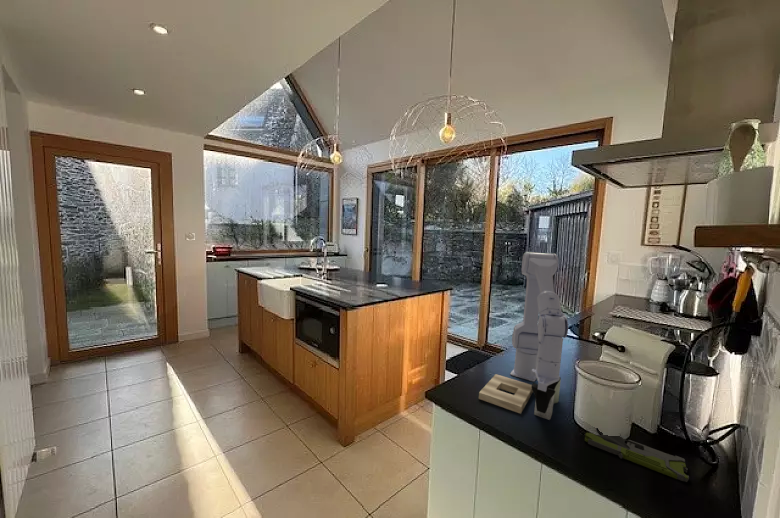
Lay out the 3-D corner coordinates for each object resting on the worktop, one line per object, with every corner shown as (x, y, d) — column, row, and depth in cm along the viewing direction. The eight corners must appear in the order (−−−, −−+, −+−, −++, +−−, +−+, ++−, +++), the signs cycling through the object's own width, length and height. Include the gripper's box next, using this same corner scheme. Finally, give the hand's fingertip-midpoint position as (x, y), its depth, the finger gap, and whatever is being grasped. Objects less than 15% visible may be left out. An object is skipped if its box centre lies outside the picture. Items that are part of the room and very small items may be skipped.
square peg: (536, 408, 94) (539, 385, 93) (552, 413, 91) (554, 389, 91) (533, 414, 90) (536, 390, 90) (549, 420, 88) (552, 395, 87)
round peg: (539, 391, 104) (541, 370, 103) (559, 397, 101) (562, 375, 100) (535, 398, 99) (537, 376, 98) (556, 405, 96) (559, 382, 95)
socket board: (495, 379, 110) (495, 374, 110) (533, 391, 104) (533, 385, 103) (478, 398, 97) (479, 392, 97) (520, 413, 90) (521, 406, 90)
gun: (681, 450, 79) (688, 490, 67) (590, 418, 91) (583, 447, 79) (683, 441, 79) (690, 479, 67) (591, 410, 90) (584, 437, 78)
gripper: (538, 347, 98) (534, 390, 99) (527, 362, 86) (522, 411, 87) (565, 353, 94) (560, 398, 95) (557, 370, 82) (551, 421, 83)
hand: (544, 405), depth 91 cm, fingers open, 7 cm apart
